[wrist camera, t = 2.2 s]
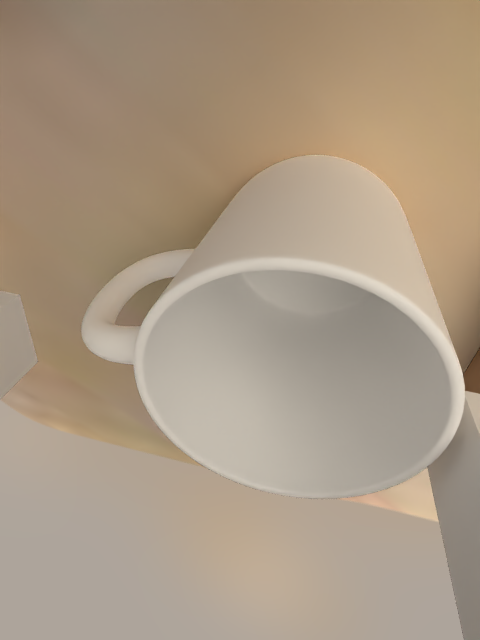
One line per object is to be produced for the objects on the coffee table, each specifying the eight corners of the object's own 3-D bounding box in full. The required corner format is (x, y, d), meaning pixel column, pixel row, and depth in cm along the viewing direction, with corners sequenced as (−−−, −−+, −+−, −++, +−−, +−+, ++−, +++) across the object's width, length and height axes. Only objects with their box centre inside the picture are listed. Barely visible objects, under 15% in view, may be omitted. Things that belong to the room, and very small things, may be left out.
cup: (391, 323, 19) (424, 520, 11) (169, 309, 22) (66, 460, 14) (424, 146, 15) (521, 266, 7) (137, 154, 17) (-44, 247, 9)
